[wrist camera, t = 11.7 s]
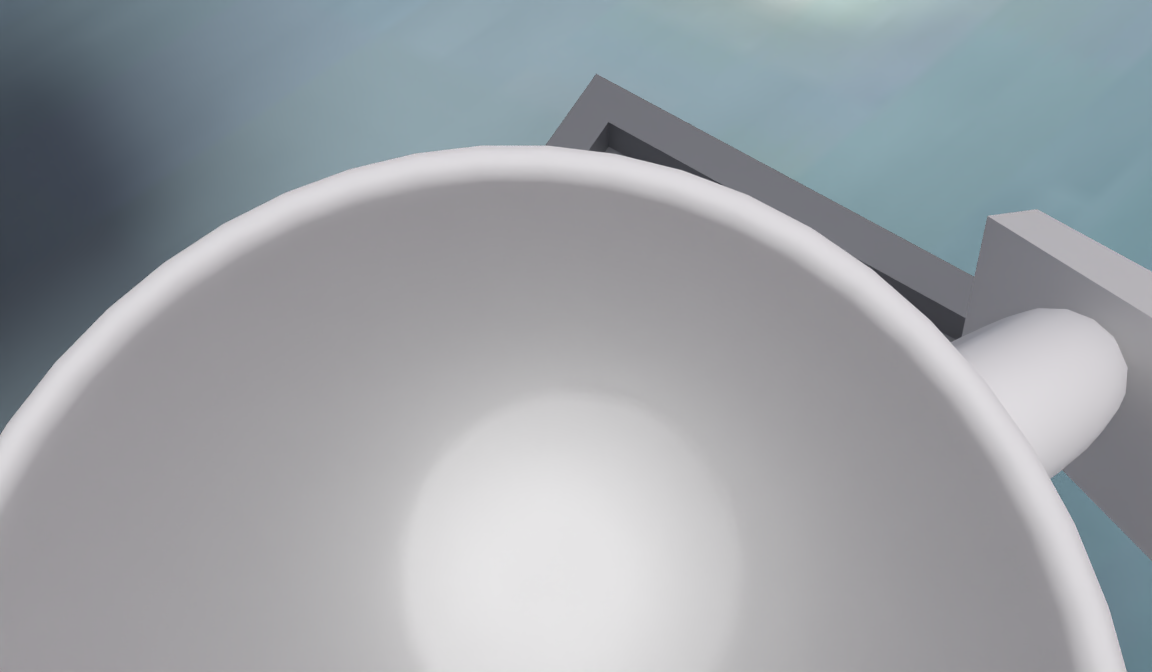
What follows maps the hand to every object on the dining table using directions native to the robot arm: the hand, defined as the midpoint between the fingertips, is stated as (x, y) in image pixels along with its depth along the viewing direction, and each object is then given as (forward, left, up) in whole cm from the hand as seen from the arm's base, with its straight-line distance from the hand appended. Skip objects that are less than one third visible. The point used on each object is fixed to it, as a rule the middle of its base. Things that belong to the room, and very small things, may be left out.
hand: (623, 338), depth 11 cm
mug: (+2, -2, -5) cm, 6 cm away
